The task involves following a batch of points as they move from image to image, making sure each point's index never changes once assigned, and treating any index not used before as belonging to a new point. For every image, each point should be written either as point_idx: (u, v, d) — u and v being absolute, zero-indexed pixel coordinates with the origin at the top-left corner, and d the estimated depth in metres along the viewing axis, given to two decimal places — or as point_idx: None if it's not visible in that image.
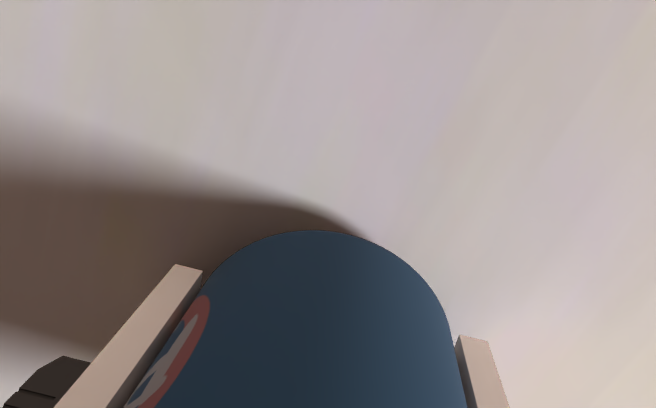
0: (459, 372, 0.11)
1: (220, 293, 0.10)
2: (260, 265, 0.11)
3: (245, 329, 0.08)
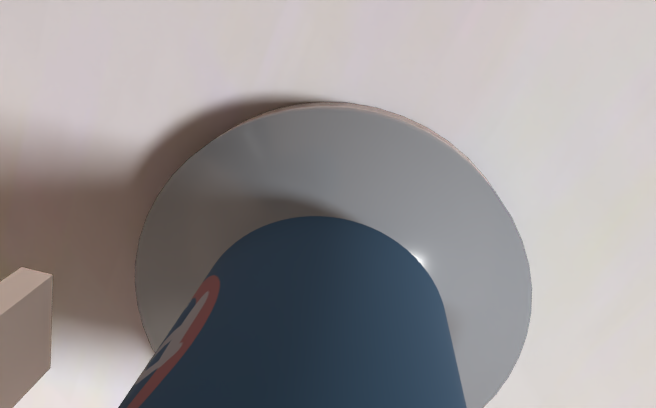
0: None
1: (229, 272, 0.11)
2: (266, 246, 0.11)
3: (254, 301, 0.09)
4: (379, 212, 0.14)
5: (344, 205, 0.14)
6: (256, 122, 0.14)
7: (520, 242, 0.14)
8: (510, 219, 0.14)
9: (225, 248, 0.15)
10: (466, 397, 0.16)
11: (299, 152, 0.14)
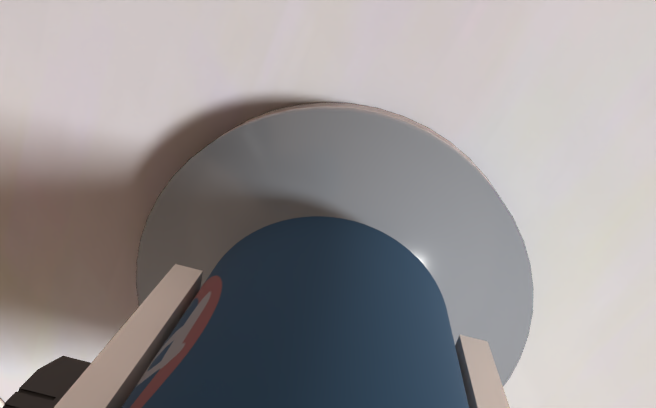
0: (455, 348, 0.12)
1: (231, 272, 0.11)
2: (269, 246, 0.11)
3: (256, 303, 0.09)
4: (381, 212, 0.14)
5: (345, 205, 0.14)
6: (257, 122, 0.14)
7: (521, 242, 0.14)
8: (511, 219, 0.14)
9: (226, 248, 0.15)
10: None
11: (300, 152, 0.14)
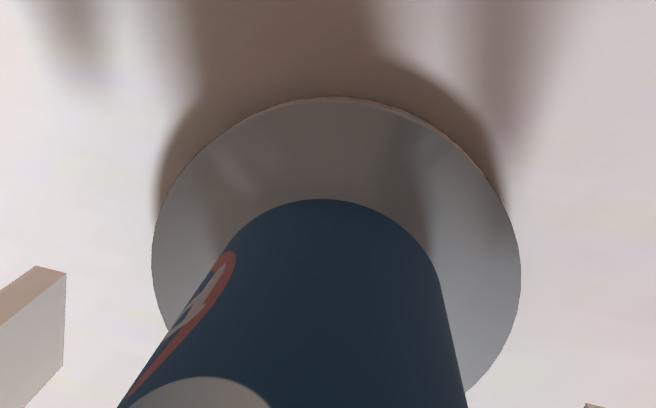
0: (447, 318, 0.13)
1: (243, 247, 0.12)
2: (277, 224, 0.13)
3: (268, 269, 0.10)
4: None
5: None
6: (497, 198, 0.15)
7: None
8: None
9: (363, 191, 0.15)
10: None
11: (476, 238, 0.15)
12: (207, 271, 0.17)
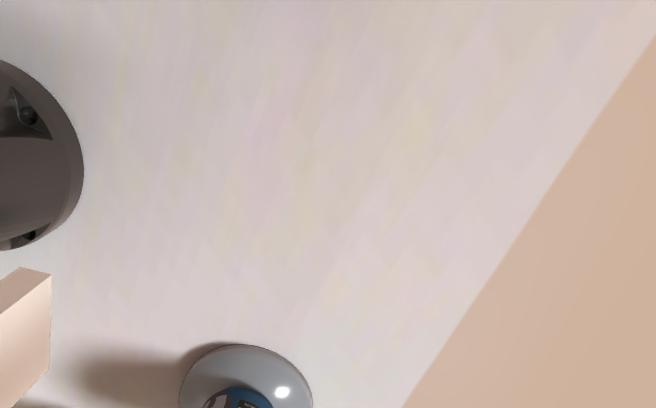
0: None
1: None
2: None
3: None
4: (258, 383, 0.44)
5: (247, 381, 0.44)
6: (218, 357, 0.43)
7: (303, 393, 0.43)
8: (299, 387, 0.43)
9: (209, 392, 0.44)
10: None
11: (232, 366, 0.43)
12: None
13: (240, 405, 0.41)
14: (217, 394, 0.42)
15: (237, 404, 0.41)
